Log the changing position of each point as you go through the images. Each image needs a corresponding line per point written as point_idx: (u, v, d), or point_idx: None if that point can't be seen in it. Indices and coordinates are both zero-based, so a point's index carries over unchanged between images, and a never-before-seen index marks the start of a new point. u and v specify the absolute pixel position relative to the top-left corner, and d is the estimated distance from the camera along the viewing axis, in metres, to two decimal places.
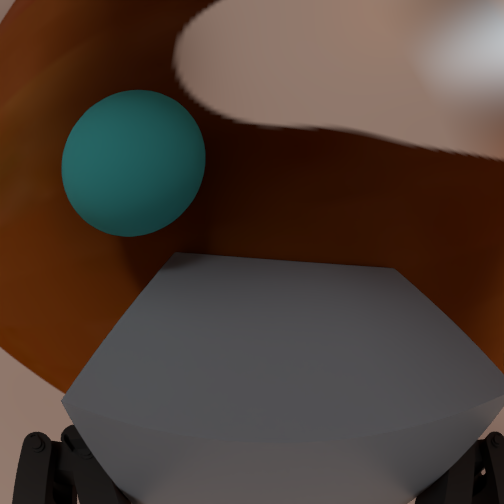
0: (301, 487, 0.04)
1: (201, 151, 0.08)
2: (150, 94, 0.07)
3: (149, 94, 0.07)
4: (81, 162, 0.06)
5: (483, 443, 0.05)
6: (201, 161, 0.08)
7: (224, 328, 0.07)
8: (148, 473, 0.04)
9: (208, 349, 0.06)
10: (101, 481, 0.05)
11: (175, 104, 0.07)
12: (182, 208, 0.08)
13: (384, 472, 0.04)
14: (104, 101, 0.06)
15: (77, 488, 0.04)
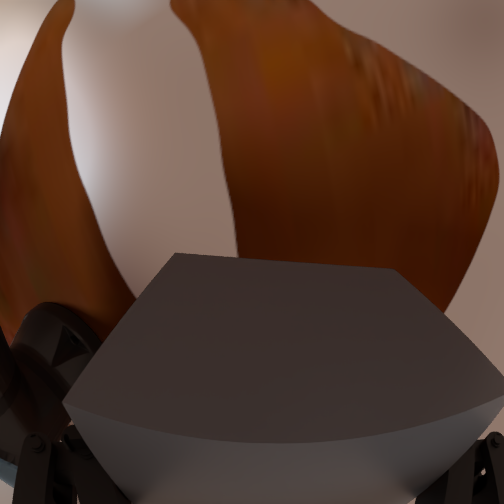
0: (301, 487, 0.04)
1: None
2: None
3: None
4: None
5: (483, 443, 0.05)
6: None
7: (224, 330, 0.07)
8: (148, 473, 0.04)
9: (208, 350, 0.06)
10: (101, 481, 0.05)
11: None
12: None
13: (383, 472, 0.04)
14: None
15: (77, 488, 0.04)
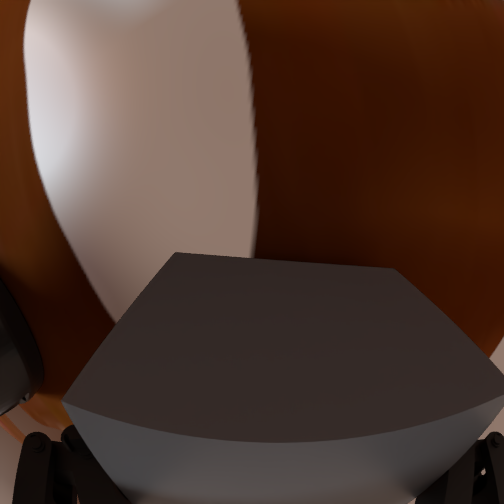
0: (301, 487, 0.04)
1: None
2: None
3: None
4: None
5: (483, 443, 0.05)
6: None
7: (224, 329, 0.07)
8: (148, 473, 0.04)
9: (208, 349, 0.06)
10: (101, 481, 0.05)
11: None
12: None
13: (383, 472, 0.04)
14: None
15: (77, 488, 0.04)
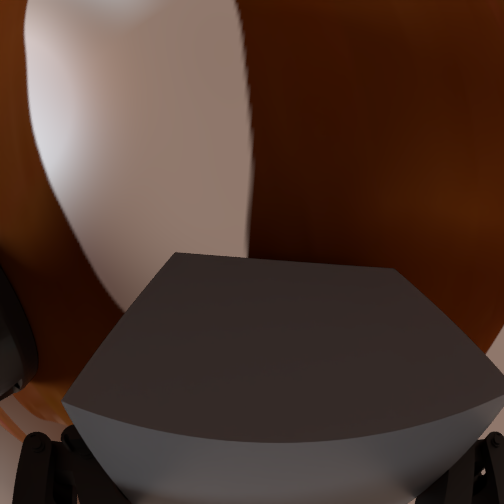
0: (301, 487, 0.04)
1: None
2: None
3: None
4: None
5: (483, 443, 0.05)
6: None
7: (224, 329, 0.07)
8: (148, 473, 0.04)
9: (208, 349, 0.06)
10: (101, 481, 0.05)
11: None
12: None
13: (384, 472, 0.04)
14: None
15: (77, 488, 0.04)
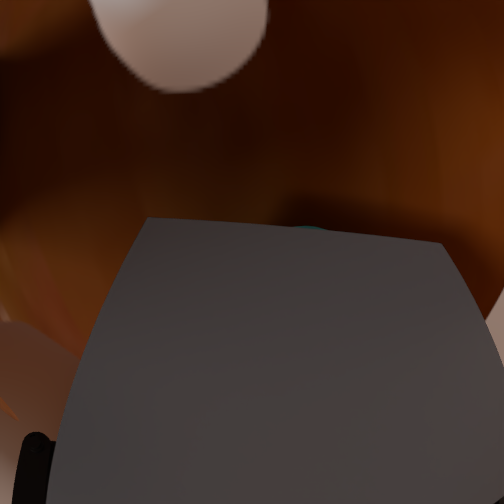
0: None
1: None
2: None
3: None
4: None
5: None
6: None
7: (211, 413, 0.04)
8: None
9: (189, 459, 0.03)
10: None
11: None
12: None
13: None
14: None
15: None
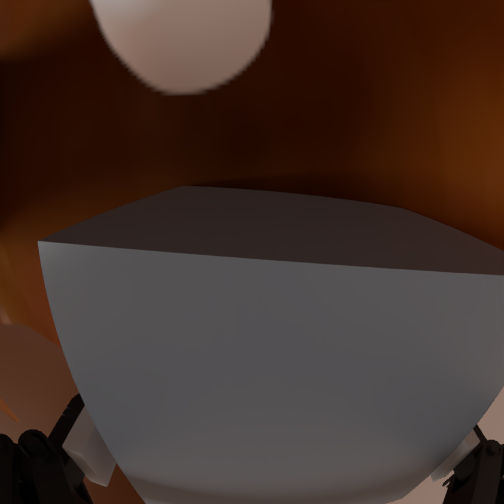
0: (340, 394, 0.04)
1: None
2: None
3: None
4: None
5: None
6: None
7: (236, 210, 0.06)
8: (131, 375, 0.04)
9: (220, 215, 0.05)
10: (59, 485, 0.04)
11: None
12: None
13: (437, 374, 0.04)
14: None
15: (39, 493, 0.03)
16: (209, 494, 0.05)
